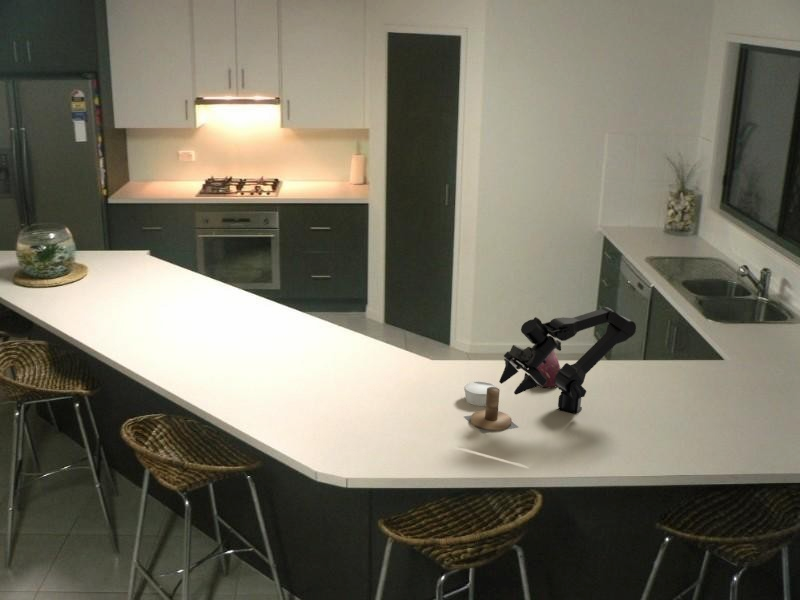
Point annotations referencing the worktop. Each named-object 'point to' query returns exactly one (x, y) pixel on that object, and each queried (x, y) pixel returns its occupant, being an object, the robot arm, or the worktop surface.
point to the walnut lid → (491, 414)
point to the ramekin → (477, 392)
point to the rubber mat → (489, 430)
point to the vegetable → (550, 369)
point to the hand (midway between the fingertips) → (507, 388)
